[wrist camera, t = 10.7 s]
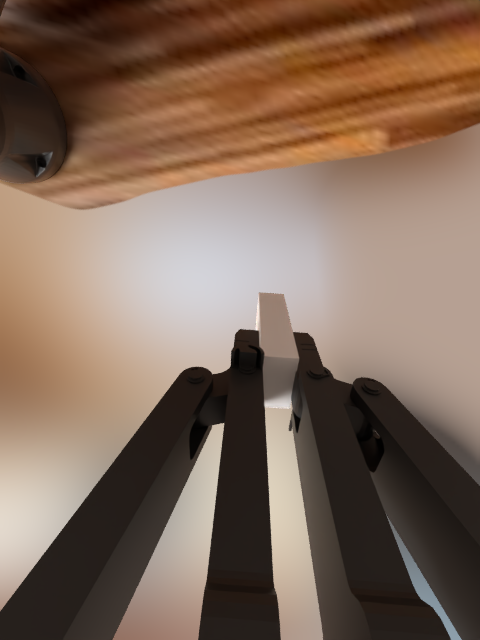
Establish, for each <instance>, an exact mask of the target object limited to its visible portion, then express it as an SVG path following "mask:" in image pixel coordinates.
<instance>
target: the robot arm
mask: <svg viewBox="0 0 480 640" xmlns="http://www.w3.org/2000/svg"><path fill="white" fill-rule="evenodd" d="M5 2H6V0H0V16H1V13H2V10H3V8H4V5H5ZM66 147H67V133H66V126H65V121H64V117H63V114H62V111H61V108H60V106H59V104H58V101H57V99H56V97H55V96H54V94H53V92H52V90H51V89H50V87H49V86H48V84H47V83H46V82H45V80H44V79H43V78H42V77H41V75H40V74H39V73H38V72H37V71H36V70H35V69H34V68H33V67H32V66H31V65H29V64H28V63H27V62H26V61H24V60H23V59H22V58H20V57H19V56H17V55H15V54H13V53H11V52H9V51H7V50H5V49H3V48H1V47H0V180H3V181H7V182H12V183H36V182H41V181H44V180H46V179H48V178H50V177H51V176H52V175H54V174H55V173H56V172H57V170H58V169H59V168H60V166H61V164H62V162H63V160H64V157H65V153H66ZM291 401H292V407H293V410H292V414H291V420H290V425H289V431H291V429H292V427H293V434H294V441H295V448H296V454H297V460H298V468H299V475H300V481H301V488H302V495H303V502H304V508H305V515H306V522H307V529H308V535H309V542H310V549H311V556H312V562H313V569H314V576H315V583H316V589H317V596H318V603H319V609H320V616H321V622H322V631H323V640H451V639H450V636H449V634H448V632H447V631H446V628H445V627H444V624H443V622H442V621H441V619H440V617H439V616H438V614H437V613H436V612H435V610H434V609H433V608H432V607H431V606H430V605H428V604H427V603H425V602H424V601H423V600H421V599H420V597H419V596H418V594H417V593H416V591H415V589H414V586H413V584H412V581H411V579H410V576H409V574H408V571H407V568H406V566H405V563H404V561H403V558H402V555H401V553H400V550H399V547H398V545H397V542H396V540H395V537H394V534H393V532H392V529H391V527H390V524H389V521H388V519H387V516H388V518H389V519H390V521H391V523H392V524H393V526H394V528H395V529H396V531H397V533H398V534H399V536H400V537H401V539H402V541H403V543H404V544H405V546H406V548H407V549H408V551H409V552H410V554H411V556H412V557H413V559H414V561H415V562H416V564H417V566H418V568H419V569H420V571H421V573H422V574H423V576H424V578H425V579H426V581H427V583H428V584H429V586H430V588H431V589H432V591H433V592H434V594H435V596H436V597H437V599H438V601H439V602H440V604H441V606H442V607H443V609H444V611H445V612H446V614H447V616H448V617H449V619H450V621H451V622H452V624H453V626H454V627H455V629H456V631H457V632H458V634H459V636H460V637H461V639H462V640H480V486H479V485H478V484H477V483H476V482H475V481H474V479H472V477H471V476H470V475H469V474H468V473H467V472H466V471H465V470H464V469H463V468H462V467H461V466H460V465H459V464H458V463H457V462H456V460H455V459H454V458H453V457H452V456H451V455H450V454H449V453H448V452H447V451H446V450H445V449H444V448H443V447H442V446H441V445H440V444H439V442H438V441H437V440H436V439H434V437H433V436H432V435H431V434H430V433H429V432H428V431H427V430H426V429H425V428H424V427H423V426H422V425H421V424H420V422H418V420H417V419H416V418H415V417H414V416H413V415H412V414H411V413H410V412H409V411H408V410H407V409H406V408H405V407H404V405H402V403H401V402H400V401H399V400H398V399H397V398H396V397H395V396H394V395H393V394H392V393H391V392H390V391H389V390H388V389H387V388H386V387H385V386H384V385H383V384H382V383H380V382H378V381H376V380H374V379H370V378H362V377H361V378H357V379H356V380H355V381H354V382H353V385H352V384H349V383H345V382H342V381H339V380H336V379H334V378H333V375H332V374H331V372H330V371H329V370H328V369H327V368H325V367H323V365H322V362H321V359H320V356H319V353H318V351H317V348H316V346H315V342H314V339H313V338H312V337H311V336H310V335H309V334H308V333H298V332H293V331H292V327H291V323H290V319H289V315H288V310H287V307H286V302H285V299H284V294H274V293H259V296H258V307H257V318H256V330H243V329H240V330H239V331H238V332H237V333H236V334H235V342H234V348H233V349H232V351H231V367H230V368H229V369H228V370H226V371H224V372H222V373H218V374H212V373H211V372H210V371H209V370H208V369H206V368H203V367H191V368H188V369H186V370H184V371H183V372H182V373H181V374H180V375H179V376H178V377H177V379H176V380H175V381H174V383H173V384H172V385H171V387H170V388H169V390H168V391H167V392H166V393H165V395H164V396H163V397H162V399H161V400H160V401H159V403H158V404H157V405H156V407H155V408H154V409H153V411H152V412H151V413H150V415H149V416H148V417H147V418H146V420H145V421H144V422H143V424H142V425H141V426H140V428H139V429H138V431H137V432H136V433H135V434H134V436H133V437H132V438H131V440H130V441H129V442H128V444H127V445H126V446H125V447H124V449H123V450H122V452H121V453H120V454H119V455H118V457H117V458H116V459H115V461H114V462H113V463H112V465H111V466H110V467H109V469H108V470H107V472H106V473H105V474H104V475H103V477H102V478H101V479H100V481H99V482H98V483H97V484H96V486H95V487H94V488H93V490H92V491H91V492H90V494H89V495H88V497H87V498H86V499H85V500H84V502H83V503H82V504H81V506H80V507H79V508H78V510H77V511H76V512H75V513H74V515H73V516H72V517H71V519H70V520H69V521H68V523H67V524H66V525H65V527H64V528H63V529H62V531H61V532H60V533H59V535H58V536H57V537H56V539H55V540H54V541H53V543H52V544H51V545H50V546H49V548H48V549H47V550H46V552H45V553H44V555H43V556H42V557H41V559H40V560H39V561H38V562H37V564H36V565H35V566H34V568H33V569H32V570H31V572H30V573H29V574H28V576H27V577H26V578H25V580H24V581H23V582H22V584H21V585H20V586H19V588H18V589H17V590H16V591H15V593H14V594H13V595H12V597H11V598H10V599H9V601H8V602H7V603H6V605H5V606H4V607H3V609H2V610H1V611H0V640H112V639H113V637H114V635H115V633H116V631H117V629H118V627H119V625H120V622H121V620H122V618H123V616H124V614H125V612H126V610H127V608H128V605H129V603H130V601H131V599H132V597H133V595H134V593H135V590H136V588H137V586H138V584H139V582H140V580H141V578H142V576H143V573H144V571H145V569H146V567H147V565H148V563H149V560H150V559H151V556H152V554H153V552H154V550H155V548H156V546H157V544H158V541H159V539H160V537H161V535H162V533H163V531H164V528H165V527H166V524H167V522H168V520H169V518H170V516H171V514H172V512H173V510H174V507H175V505H176V503H177V501H178V499H179V497H180V495H181V493H182V490H183V488H184V486H185V484H186V482H187V480H188V478H189V475H190V473H191V471H192V469H193V467H194V465H195V463H196V461H197V458H198V456H199V454H200V452H201V450H202V448H203V445H204V443H205V441H206V439H207V437H208V435H209V433H210V431H211V428H212V425H215V424H220V423H224V432H223V441H222V450H221V459H220V467H219V477H218V486H217V495H216V503H215V512H214V521H213V531H212V539H211V548H210V557H209V565H208V574H207V582H206V586H205V590H204V597H203V605H202V613H201V621H200V629H199V638H198V640H281V638H280V621H279V609H278V601H277V594H276V592H275V588H274V582H273V566H272V546H271V528H270V506H269V486H268V466H267V446H266V426H265V407H272V408H286V409H290V405H291ZM375 431H376V432H377V433H378V434H377V433H376V432H375ZM385 513H386V514H387V516H386V514H385Z"/></svg>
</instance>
